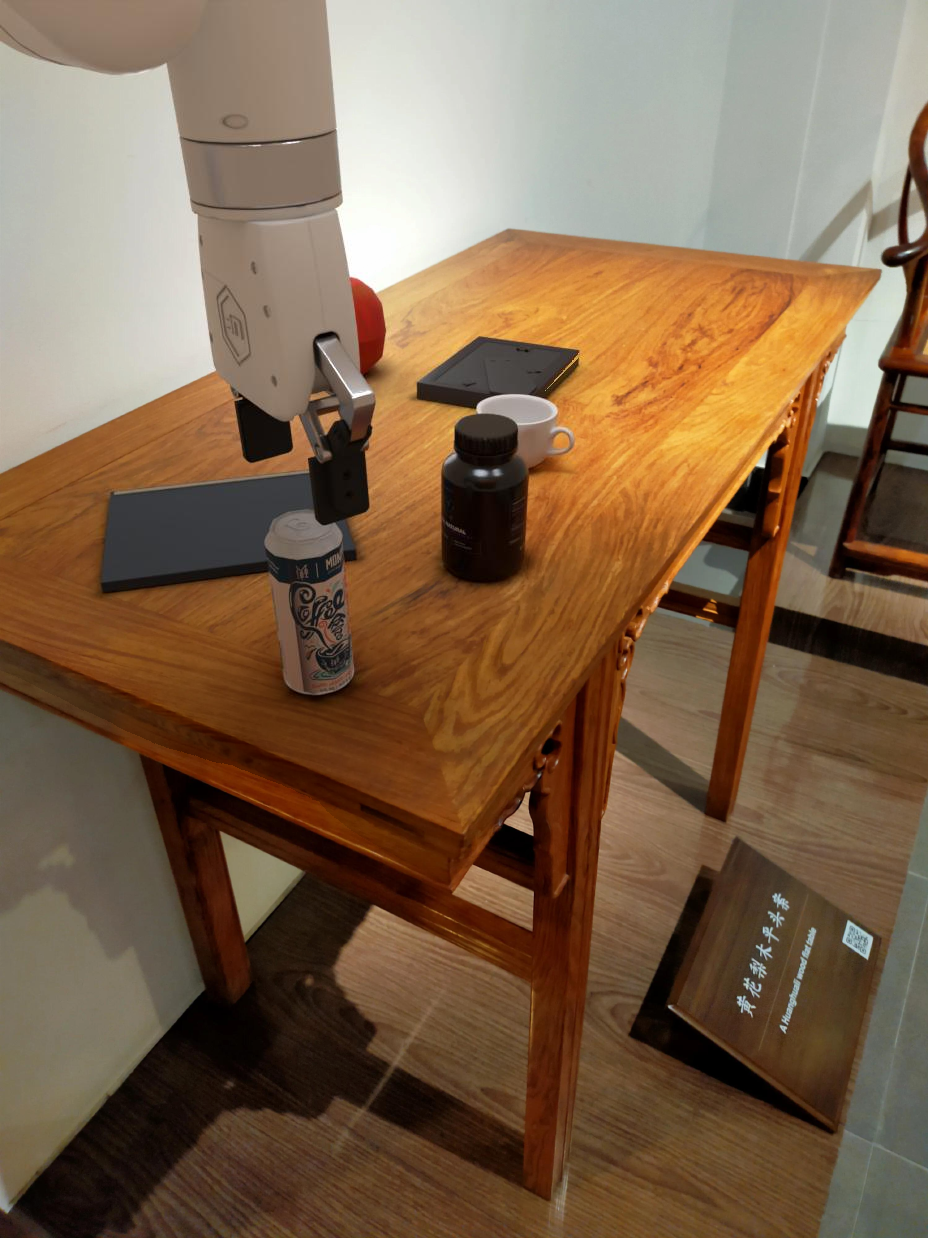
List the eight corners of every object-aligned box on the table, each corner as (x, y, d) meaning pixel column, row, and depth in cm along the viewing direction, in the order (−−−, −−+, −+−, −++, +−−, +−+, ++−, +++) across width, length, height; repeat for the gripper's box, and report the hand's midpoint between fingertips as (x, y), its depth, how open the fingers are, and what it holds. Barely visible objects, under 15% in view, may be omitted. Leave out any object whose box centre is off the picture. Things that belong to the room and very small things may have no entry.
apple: (342, 351, 119) (335, 257, 113) (406, 367, 115) (402, 269, 108) (287, 375, 112) (276, 275, 106) (352, 392, 108) (345, 289, 101)
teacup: (461, 466, 92) (461, 414, 89) (498, 438, 97) (499, 388, 94) (555, 489, 88) (558, 435, 84) (587, 458, 93) (591, 407, 90)
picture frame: (526, 417, 102) (578, 365, 115) (527, 397, 100) (579, 347, 114) (416, 398, 106) (478, 350, 120) (416, 379, 105) (478, 332, 118)
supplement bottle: (430, 576, 75) (426, 436, 68) (456, 535, 80) (455, 402, 74) (513, 590, 73) (518, 448, 67) (534, 547, 79) (540, 412, 72)
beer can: (320, 710, 62) (301, 552, 55) (269, 682, 64) (245, 528, 57) (369, 674, 65) (357, 520, 58) (319, 649, 67) (302, 499, 60)
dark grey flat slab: (102, 593, 73) (99, 581, 73) (112, 500, 86) (109, 490, 85) (356, 559, 77) (355, 548, 77) (330, 476, 90) (329, 465, 89)
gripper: (132, 158, 50) (190, 451, 60) (269, 215, 39) (314, 566, 49) (260, 143, 54) (296, 422, 64) (422, 191, 42) (435, 524, 52)
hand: (303, 484), depth 56 cm, fingers open, 9 cm apart
